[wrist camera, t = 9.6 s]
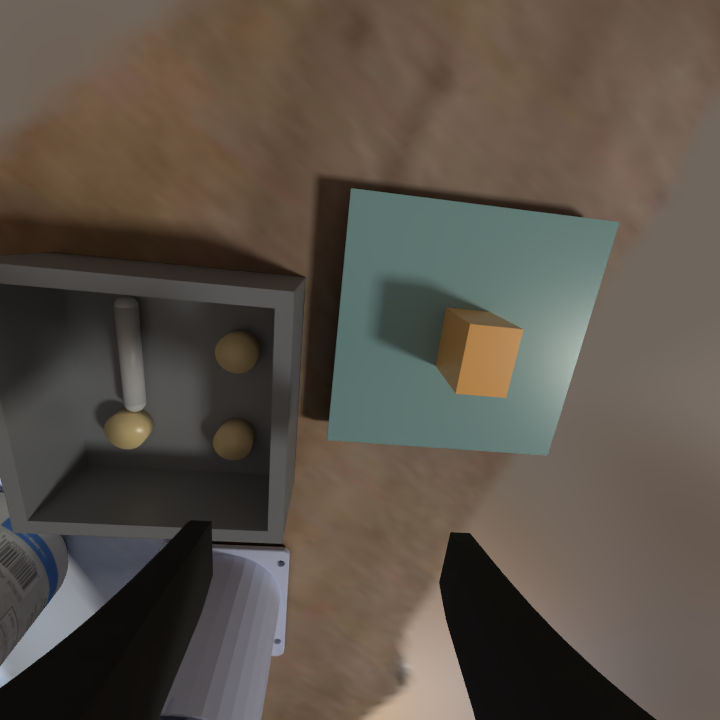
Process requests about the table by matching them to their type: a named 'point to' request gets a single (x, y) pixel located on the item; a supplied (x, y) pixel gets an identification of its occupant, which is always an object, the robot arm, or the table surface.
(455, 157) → the table surface
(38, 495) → the parts tub
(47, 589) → the supplement tub
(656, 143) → the table surface
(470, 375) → the lid
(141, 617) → the robot arm
